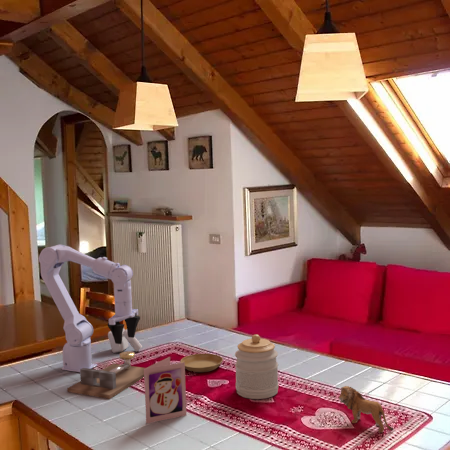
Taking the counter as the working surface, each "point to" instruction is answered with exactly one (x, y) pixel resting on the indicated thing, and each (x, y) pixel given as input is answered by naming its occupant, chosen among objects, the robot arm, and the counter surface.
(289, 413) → the counter surface
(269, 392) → the jar
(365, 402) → the lion figurine
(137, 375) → the wooden board
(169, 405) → the greeting card
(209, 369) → the plant saucer
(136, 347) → the wall hook
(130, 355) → the brass knob with shaft
